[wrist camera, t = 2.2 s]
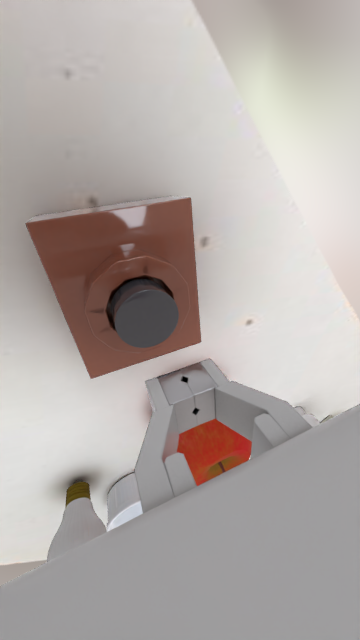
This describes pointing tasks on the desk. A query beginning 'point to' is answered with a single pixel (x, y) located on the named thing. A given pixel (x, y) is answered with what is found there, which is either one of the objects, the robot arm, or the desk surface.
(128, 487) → the ramekin
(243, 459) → the apple
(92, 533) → the light bulb
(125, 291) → the grey push button
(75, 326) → the brown button mount
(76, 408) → the desk surface
